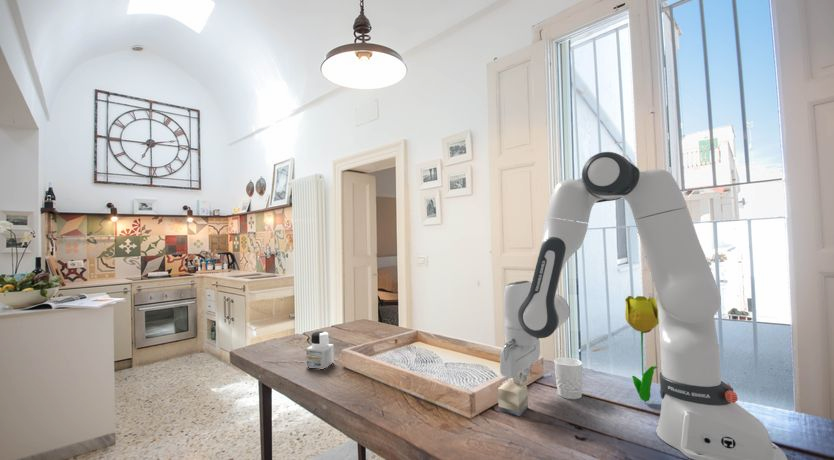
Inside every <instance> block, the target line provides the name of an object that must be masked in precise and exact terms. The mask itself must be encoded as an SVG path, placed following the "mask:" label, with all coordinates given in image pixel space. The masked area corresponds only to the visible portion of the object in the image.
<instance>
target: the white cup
mask: <svg viewBox="0 0 834 460" xmlns="http://www.w3.org/2000/svg"><path fill="white" fill-rule="evenodd" d="M553 363H554V372H555V373H554V374H555V383H556V389H557V395H558V396H560V397H561V398H563V399H565V400H579V399H580V398H582V396H583V394H582V392H583V391H582V388H583V362H582V361H581V360H579V359H577V358H573V357H564V356H563V357H557V358H554V360H553Z"/></svg>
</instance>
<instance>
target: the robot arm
mask: <svg viewBox="0 0 834 460" xmlns="http://www.w3.org/2000/svg"><path fill="white" fill-rule="evenodd" d="M620 199H624V200H625V201H626V202H627V203H628V204H629V205H628V206H629V207H630V209H631V213H632V216H633V219H634V222H635V223H634V224H635V226H636V229H637V233H638V235H639V239H640V242H641V245H642V248H643V252H644V255H645V259H646V261H647V264H648V268H649V272H650V275H651V278H652V281H653V282H652V283H653V284H654V287H655V291H656V299H657V300H656V304H657V309H658V319H659V324H658V328H659V329H658V331H659V346H660V347H659V348H660V349H659V350H660V352H659V353H660V363H661V364H660V367H661V371H660V372H659V377H658V384H659V385H658V386H659V387H658V388H659V394H660V398H661V406H660V414H659V419H658V423H657V427H656V429H655V430H656V431H655V432H656V434H657V436H658V437H659V438H660V439H661V440H662V441H663V442H665V443H666V444H668V445H669V446H671V447H672V448H675V449H676V450H678V451H680V453H682V454H683V455H684V456H686V457H687V458H689V459H691V460H788V458H787V456H786V454H785V452H784V450H783V449H781V448H780V447H779V446H778V445H776V444H775V443H773V441H772V439H771V435H770V433H769V431H768V430H767V428H766V426H765V425H764V423H763V422H762V421H761V420H760V419H759V418H757V417H756V416H754V415H753V414H752V413H750V412H749V411H748V410H746V409H745V408H744V407H742V406H741V405H739V404H738V403H737V402H738V398H739V397H738V395H737V393H736V392H735V391H734V388H733V387H731V384H730V383H729V382H728V383H725V382H724V381H722V378H721V376H722V375H721V361H720V360H721V359H720V345H719V340H718V334H717V328H716V321H715V320H716V319H715V315H716V314H717V313H718V312H719V310H720V307H721V304H722V303H721V301H722V298H721V293H720V290H719V288H718V284H717V282H716V279H715V278H714V275H713V271H712V269H711V267H710V264H709V262H708V259H707V257H706V254H705V251H704V250H703V247H702V245H701V243H700V240H699V237H698V234H697V231H696V228H695V226H694V222H693V218H692V216H691V213H690V210H689V208H688V205H687V201H686V199H685V197H684V195H683V192H682V190H681V188H680V187H679V185H678V183H677V181H676V180H675V178H674V176H673V174H672V173H671V172H669V171H668V170H665V169H660V168H659V169H658V168H653V169H648V170H644V171H640V169H639V168H638V167H637V166H636V165H634V164H633V163H632V162H631V161H630V160H628V159H627V158H626V157H624V156H623V155H621V154H620V153H617V152H612V151H604V152H603V151H602V152H599V153H596V154H594V155H593V156H591V157H589V159H587V161H586V162H585V163H584V166H583V167H582V171H581V178H578V179H572V178H570V179H564V180H561V181H560V182H558V183H557V184H555V186H554V189H553V191H552V193H551V196H550V199H549V201H548V202H549V203H548V205H547V209H546V214H545V218H544V223H543V224H544V225H543V230H542V239H541V243H540V249H539V254H538V257H537V260H536V265H535V269H534V273H533V277H532V282H531V281H529V280H519V281H515V282H514V281H513V282H510V283H508V284H506V286H505V287H504V290H503V301H502V302H503V305H502V307H503V313H504V323H503V330H504V331H503V332H504V343H505V344H504V347H503V348H502V349H501V351H500V357H499V358H500V361H499V372H500V375H501V376H502V377H505V378H510V379H512V380H513V383H516V384H521V385H523V382H524V383H527V382H528V381H530V371H531V366H532V365H533V364H535V363H536V362H537V361H539V359H540V353H541V351H540V350H541V342H540V339H545V338H548V337H550V336H552V334H554V332H555V331H556V330H557V329H559V328H561V326H562V325H563V324H565V322H567V321H568V319H569V317H570V313H571V312H570V307H569V306H570V305H569V304H568V302H567V301H566V299H565V298H564V297H563V296H561V295H559V294H557V291H558V288H559V283H560V280H561V275H562V271H563V269H564V267H565V266H566V265H565V264H566V263H567V262H568V260H569V259H570V258H571V257H572V256H573V255H574V254H575V253H576V252H577V251H578V250H579V249H580V248H581V247H582V245H583V242H584V240H585V237H586V236H587V231H588V227H589V222H590V217H591V212H592V209H593V206H594V205H595V204H596V203H604V202H610V201H612V202H613V201H617V200H620Z"/></svg>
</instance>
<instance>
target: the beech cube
mask: <svg viewBox="0 0 834 460" xmlns="http://www.w3.org/2000/svg"><path fill="white" fill-rule="evenodd" d="M528 398H529V397H528V385H524V384H522V385H521V384H516V383H514V382H511V381H505V382H504V383H503V384H501V385H500V386H499V387H498V388H497V399H498V400H497V402H498V403H497V404H498V410H499V411H500V412H504V413H507V414H511V415H515V416H518V417H519V416H521V415H522V414H523V413H524V412H526V411H527V409H528V408H529V405H528V403H529V400H528Z"/></svg>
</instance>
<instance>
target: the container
mask: <svg viewBox="0 0 834 460" xmlns="http://www.w3.org/2000/svg"><path fill="white" fill-rule="evenodd" d="M329 336H330V335H329V332H327V331H324V330H323V331H316V332H313V333H311V345H310V346H308V347H307V348H305V349H306V350H305V351H306V358H305V359H306V368H307V367H309V368H325V367H327V366H328V365H330V364H331V363H332V362H334V363H335V349H334V343H330V339H329V338H330V337H329ZM309 368H308V369H309ZM327 368H328V367H327Z"/></svg>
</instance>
